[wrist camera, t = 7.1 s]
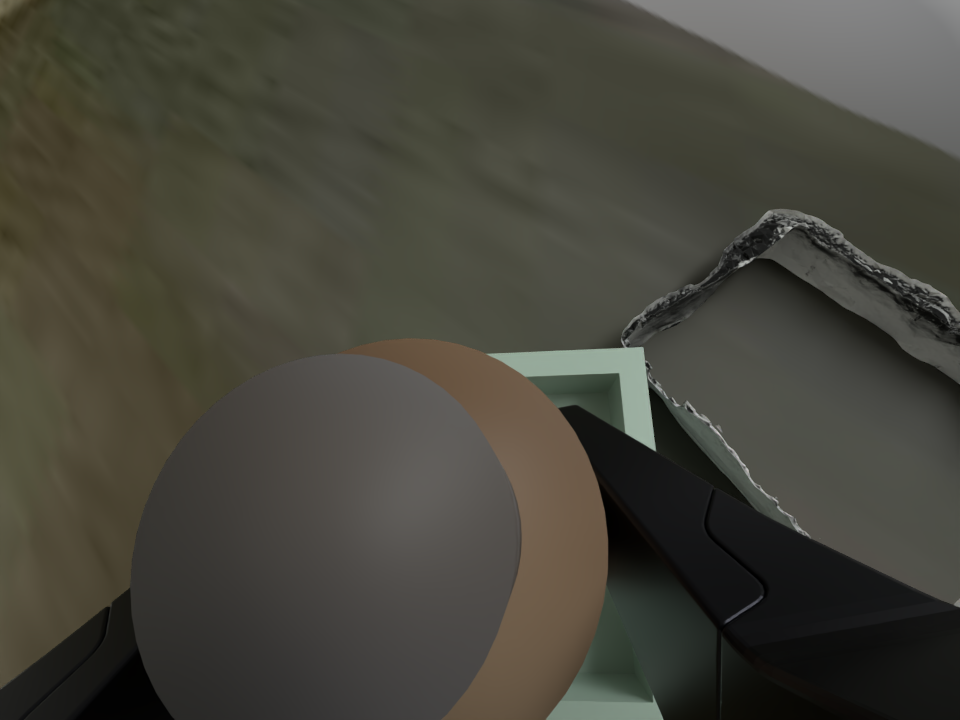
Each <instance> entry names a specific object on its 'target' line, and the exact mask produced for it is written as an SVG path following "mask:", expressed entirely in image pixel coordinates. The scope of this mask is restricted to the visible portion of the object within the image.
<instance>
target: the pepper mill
mask: <svg viewBox="0 0 960 720" xmlns="http://www.w3.org/2000/svg"><path fill="white" fill-rule="evenodd" d="M607 574H608V535H607V526H606V518H605V510H604V506H603V502H602V498H601V494H600V489H599V485H598V482H597V479H596V476H595V474H594V471H593V469H592V466H591V463H590V461H589V458H588V455H587V454H586V452H585V450H584V448H583V446H582V444H581V442H580V441H579V439H578V437H577V435H576V433H575V431H574V430H573V428H572V427H571V426H570V424H569V423H568V421H567V420H566V419H565V417H564V416H563V414H562V413H561V412H560V410H559V409H558V408H557V407H556V406H555V405H554V404H553V402H552V401H551V400H550V399H549V398H548V397H547V396H546V395H545V394H544V393H543V392H542V391H541V390H540V389H539V388H538V387H537V386H535V385H534V384H533V383H532V382H531V381H529V380H528V379H527V378H526V377H525V376H523V375H522V374H521V373H519V372H518V371H516V370H514V369H513V368H511V367H510V366H508V365H506V364H505V363H503V362H502V361H500V360H498V359H496V358H493V357H491V356H489V355H487V354H485V353H483V352H480V351H478V350H475V349H471V348H468V347H465V346H462V345H459V344H455V343H449V342H444V341H438V340H432V339H411V338H408V339H395V340H384V341H380V342H375V343H370V344H365V345H361V346H358V347H355V348H352V349H349V350H346V351H343V352H340V353H338V354H330V355H318V356H313V357H308V358H303V359H298V360H294V361H291V362H288V363H285V364H282V365H279V366H276V367H274V368H271V369H269V370H267V371H265V372H263V373H261V374H258V375H256V376H254V377H252V378H251V379H249V380H248V381H246V382H244V383H243V384H241V385H239V386H238V387H236V388H234V389H233V390H232V391H230V392H229V393H228V394H227V395H225V396H224V397H223V398H221V399H220V400H219V401H217V402H216V403H215V404H214V405H213V406H212V407H211V408H210V409H209V410H208V411H207V412H206V413H204V414H203V415H202V416H201V417H200V418H199V419H198V420H197V421H196V422H195V424H194V425H193V426H192V427H191V428H190V430H189V431H188V432H187V433H186V434H185V435H184V437H183V438H182V439H181V440H180V442H179V443H178V445H177V446H176V448H175V449H174V451H173V452H172V454H171V455H170V457H169V458H168V459H167V461H166V463H165V465H164V467H163V468H162V470H161V472H160V474H159V476H158V478H157V480H156V481H155V483H154V486H153V488H152V490H151V493H150V495H149V498H148V500H147V503H146V505H145V508H144V511H143V514H142V518H141V521H140V524H139V528H138V531H137V535H136V541H135V547H134V552H133V558H132V569H131V584H130V592H131V611H132V619H133V625H134V631H135V637H136V642H137V645H138V649H139V652H140V655H141V658H142V661H143V665H144V668H145V670H146V672H147V674H148V676H149V679H150V681H151V683H152V685H153V687H154V689H155V692H156V693H157V695H158V696H159V698H160V699H161V701H162V702H163V704H164V706H165V707H166V709H167V710H168V712H169V713H170V715H171V716H172V717H173V718H174V719H175V720H546V719H547V717H548V716H549V715H550V713H551V712H552V711H553V710H554V708H555V707H556V706H557V704H558V703H559V702H560V701H561V699H562V698H563V697H564V695H565V694H566V693H567V691H568V689H569V687H570V686H571V684H572V682H573V681H574V679H575V677H576V675H577V674H578V672H579V670H580V668H581V667H582V665H583V663H584V660H585V658H586V655H587V653H588V651H589V648H590V646H591V643H592V641H593V638H594V636H595V633H596V629H597V626H598V622H599V618H600V614H601V611H602V607H603V603H604V596H605V589H606V581H607Z"/></svg>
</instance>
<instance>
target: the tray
mask: <svg viewBox="0 0 960 720" xmlns="http://www.w3.org/2000/svg"><path fill="white" fill-rule="evenodd" d="M487 355H489V356H491V357H493V358H496V359H498V360H500V361H502V362H503V363H505V364H506V365H508V366H510V367H511V368H513V369H514V370H516V371H518V372H519V373H521V374H522V375H523V376H525V377H526V378H527V379H528V380H529V381H531V382H532V383H533V384H534V385H535V386H537V387H538V388H539V389H540V390H541V391H542V392H543V393H544V394H545V395H546V396H547V397H548V398H549V399H550V400H551V401H552V402H553V404H554V405H555V406H556V407H557V408H560V407H565V406H569V405H578V406H580V407H582V408H584V409H585V410H587V411H589V412H590V413H592V414H594V415H595V416H597V417H599V418H600V419H602V420H604V421H605V422H607V423H609V424H611V425H612V426H614V427H616V428H617V429H619V430H621V431H622V432H624V433H626V434H627V435H629V436H631V437H632V438H634V439H636V440H637V441H639V442H641V443H643V444H644V445H646V446H648V447H649V448H651V449H653V450H654V451H656V448H655V440H654V432H653V424H652V416H651V407H650V399H649V391H648V383H647V375H646V366H645V358H644V350H643V347H635V348H612V349H590V350H567V351H544V352H522V353H499V354H487ZM546 720H664V719H663V717H662V715H661V712H660V710H659V708H658V705H657V703H656V701H655V698H654V696H653V694H652V691H651V689H650V687H649V684H648V682H647V679H646V677H645V675H644V672H643V670H642V668H641V665H640V663H639V661H638V658H637V656H636V654H635V651H634V649H633V646H632V644H631V642H630V639H629V637H628V635H627V632H626V630H625V628H624V625H623V623H622V621H621V618H620V616H619V614H618V611H617V609H616V606H615V604H614V602H613V599H612V597H611V595H610V592H609V590H608V588H607V585H606V589H605V596H604V603H603V607H602V611H601V614H600V618H599V622H598V626H597V629H596V633H595V636H594V638H593V641H592V643H591V646H590V648H589V651H588V653H587V655H586V658H585V660H584V663H583V665H582V667H581V668H580V670H579V672H578V674H577V675H576V677H575V679H574V681H573V682H572V684H571V686H570V687H569V689H568V691H567V693H566V694H565V695H564V697H563V698H562V699H561V701H560V702H559V703H558V704H557V706H556V707H555V708H554V710H553V711H552V712H551V713H550V715H549V716H548V717H547V719H546Z"/></svg>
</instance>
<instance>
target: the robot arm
mask: <svg viewBox="0 0 960 720" xmlns="http://www.w3.org/2000/svg"><path fill="white" fill-rule="evenodd" d="M558 409H559V410H560V412H561V413H562V414H563V416H564V417H565V419H566V420H567V421H568V423H569V424H570V426H571V427H572V428H573V430H574V431H575V433H576V435H577V437H578V439H579V441H580V442H581V444H582V446H583V448H584V450H585V452H586V454H587V455H588V458H589V461H590V463H591V466H592V469H593V471H594V474H595V476H596V479H597V482H598V485H599V489H600V494H601V498H602V502H603V506H604V510H605V518H606V526H607V535H608V574H607V581H606V585H607V588H608V590H609V592H610V595H611V597H612V599H613V602H614V604H615V606H616V609H617V611H618V614H619V616H620V618H621V621H622V623H623V625H624V628H625V630H626V632H627V635H628V637H629V639H630V642H631V644H632V646H633V649H634V651H635V654H636V656H637V658H638V661H639V663H640V665H641V668H642V670H643V672H644V675H645V677H646V679H647V682H648V684H649V687H650V689H651V691H652V694H653V696H654V698H655V701H656V703H657V705H658V708H659V710H660V712H661V715H662V717H663V719H664V720H960V607H958V606H955V605H952V604H949V603H947V602H944V601H941V600H939V599H937V598H935V597H932V596H930V595H928V594H926V593H923V592H921V591H919V590H917V589H915V588H913V587H911V586H908V585H906V584H904V583H902V582H900V581H898V580H896V579H894V578H892V577H890V576H888V575H886V574H883V573H881V572H879V571H877V570H875V569H873V568H871V567H869V566H867V565H865V564H863V563H861V562H859V561H856V560H854V559H852V558H850V557H848V556H846V555H844V554H842V553H840V552H838V551H836V550H834V549H832V548H829V547H827V546H825V545H823V544H821V543H819V542H817V541H815V540H813V539H811V538H809V537H807V536H805V535H803V534H801V533H799V532H797V531H795V530H793V529H791V528H789V527H787V526H785V525H783V524H781V523H779V522H777V521H775V520H773V519H771V518H769V517H768V516H766V515H764V514H762V513H760V512H759V511H757V510H755V509H753V508H751V507H750V506H748V505H746V504H744V503H743V502H741V501H739V500H737V499H736V498H734V497H732V496H730V495H729V494H727V493H725V492H724V491H722V490H720V489H719V488H715V489H714V486H713V485H712V484H710V483H708V482H707V481H705V480H703V479H701V478H700V477H698V476H696V475H695V474H693V473H691V472H690V471H688V470H686V469H685V468H683V467H681V466H680V465H678V464H676V463H675V462H673V461H671V460H669V459H668V458H666V457H664V456H663V455H661V454H659V453H658V452H656V451H654V450H653V449H651V448H649V447H648V446H646V445H644V444H643V443H641V442H639V441H637V440H636V439H634V438H632V437H631V436H629V435H627V434H626V433H624V432H622V431H621V430H619V429H617V428H616V427H614V426H612V425H611V424H609V423H607V422H605V421H604V420H602V419H600V418H599V417H597V416H595V415H594V414H592V413H590V412H589V411H587V410H585V409H584V408H582V407H580V406H578V405H569V406H565V407H560V408H558ZM0 720H175V719H174V718H173V717H172V716H171V715H170V713H169V712H168V710H167V709H166V707H165V706H164V704H163V702H162V701H161V699H160V698H159V696H158V695H157V693H156V692H155V689H154V687H153V685H152V683H151V681H150V679H149V676H148V674H147V672H146V670H145V668H144V665H143V661H142V658H141V655H140V652H139V649H138V645H137V642H136V637H135V631H134V625H133V619H132V611H131V592H130V588H129V589H128V590H126V591H125V592H124V593H123V594H121V595H120V596H119V597H118V598H117V599H115V600H114V601H113V602H112V603H111V605H110V607H105V608H104V609H103V610H101V611H100V612H99V613H98V614H96V615H95V616H94V617H93V618H91V619H90V620H89V621H88V622H86V623H85V624H84V625H83V626H81V627H80V628H79V629H78V630H76V631H75V632H74V633H73V634H71V635H70V636H69V637H67V638H66V639H65V640H64V641H62V642H61V643H60V644H58V645H57V646H56V647H55V648H53V649H52V650H51V651H50V652H48V653H47V654H46V655H44V656H43V657H42V658H41V659H39V660H38V661H37V662H35V663H34V664H33V665H31V666H30V667H29V668H27V669H26V670H25V671H23V672H22V673H21V674H19V675H18V676H17V677H15V678H14V679H12V680H11V681H10V682H8V683H7V684H6V685H4V686H3V687H2V688H0Z"/></svg>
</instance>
